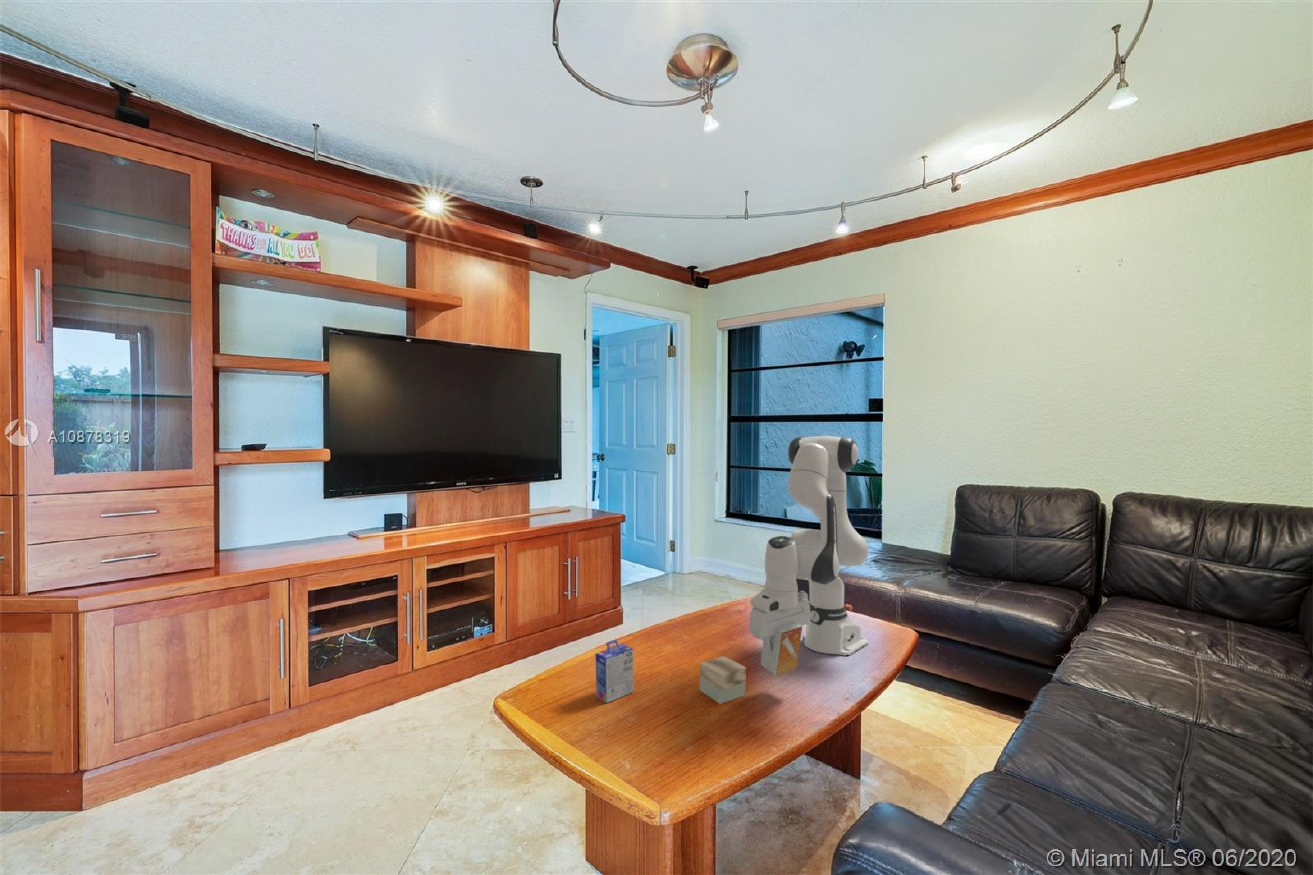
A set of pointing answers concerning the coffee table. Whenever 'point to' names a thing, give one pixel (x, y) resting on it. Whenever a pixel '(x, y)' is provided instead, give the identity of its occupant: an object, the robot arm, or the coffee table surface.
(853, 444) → the robot arm
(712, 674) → the tower top block
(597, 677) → the ink cartridge box
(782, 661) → the small box
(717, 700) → the tower base block
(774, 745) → the coffee table surface
